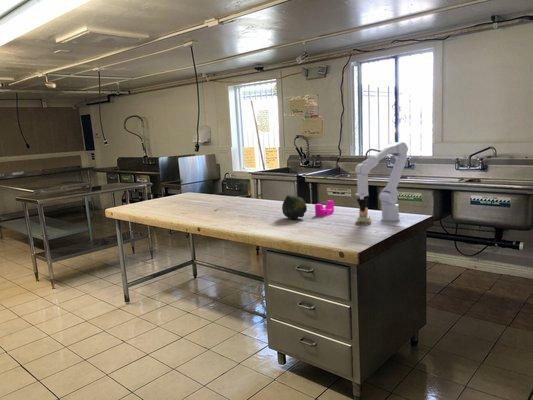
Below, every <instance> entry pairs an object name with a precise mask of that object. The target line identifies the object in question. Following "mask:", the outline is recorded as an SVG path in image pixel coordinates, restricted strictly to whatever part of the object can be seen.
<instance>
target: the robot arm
mask: <svg viewBox="0 0 533 400" xmlns="http://www.w3.org/2000/svg"><path fill="white" fill-rule="evenodd" d="M408 151H409V147H408V145H407V143H406V142H404V141H403V142H402V141H401V142H400V141H399V142H397V141H396V142H395V141H393V142H390V143H388V144H387V145H386V146H385V147H384V148H383V149H382V150H380V151H379V152H378V153H377V154H375V155H369V156H368V158H367V159H365V160H363V161H362V162H361V163H359V164H357V165H356V166H355V169H354V172H355V174H356V182H357V193H355V196H358V198H356V201H357V203H358V205H359V206H358V207H359V208H360V210H361V211H365V207H367V204H368V199H369V197H370V196H369V174H370V172H371V170H372V169H374V168H375V167H376V166H378V165H379V164H380V163H379V162H380V161H381V160H382V159H384V158H385V157H387V156H389V155H392V156H393V158H394V159H395V162H394V164H393V168H392V171H391V173H390V176H389V179H388V182H387V184H386V186H385V187H383V188H382V190H381V192H380V193H379V194H378V200H379V201H380V203H381V218H380V221H384V222H385V221H389V222H390V221H393V222H394V221H395V222H396V221H399V219H400V213H399V212H400V211H399V203H397V202H398V195H399V191H398V189H397V188H398V187H399V182H400V179H401V177H402V174H403V171H404V168H405V165H406V163H407V160H408V157H407V155H408Z"/></svg>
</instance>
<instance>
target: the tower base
mask: <svg viewBox="0 0 533 400" xmlns="http://www.w3.org/2000/svg"><path fill="white" fill-rule="evenodd" d="M372 221H373V220H372V218H370V220H369V222H361V221H358V217H357V218H356V220H355V225H356V226H357V225H358V226H359V225H360V226H361V225H363V226H365V225H366V226H367V225H371V224H372Z"/></svg>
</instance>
